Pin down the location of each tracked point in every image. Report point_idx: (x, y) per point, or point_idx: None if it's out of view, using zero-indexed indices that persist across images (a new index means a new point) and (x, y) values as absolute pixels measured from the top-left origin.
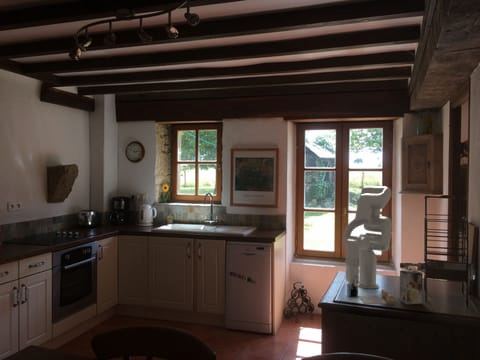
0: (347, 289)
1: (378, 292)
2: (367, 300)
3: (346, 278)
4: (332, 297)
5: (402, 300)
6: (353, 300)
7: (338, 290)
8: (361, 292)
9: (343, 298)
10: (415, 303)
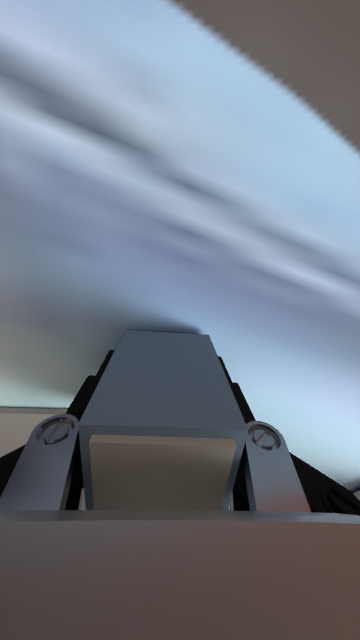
0: (190, 364)
1: None
2: (6, 452)
3: (354, 627)
4: (75, 67)
5: None
6: (4, 338)
7: (357, 284)
8: None
9: (55, 243)
10: None
